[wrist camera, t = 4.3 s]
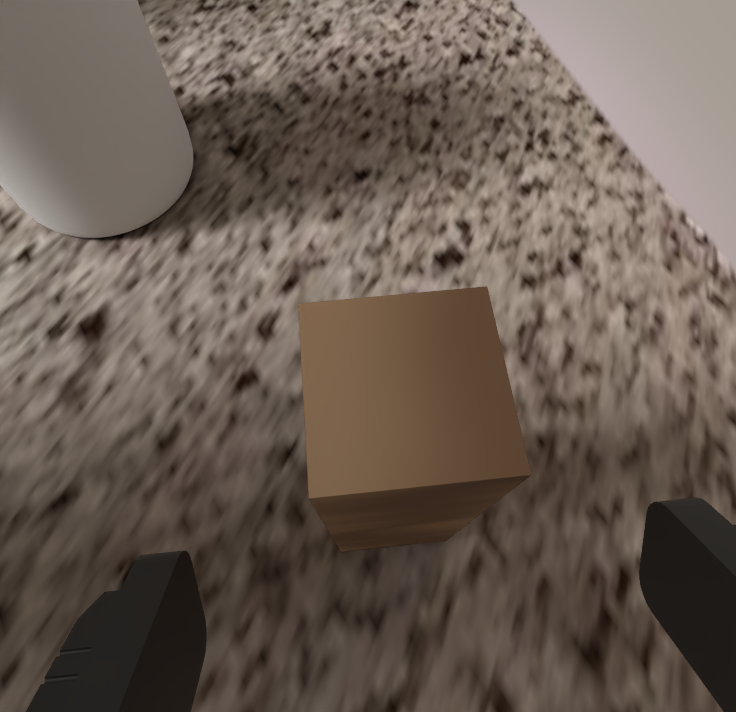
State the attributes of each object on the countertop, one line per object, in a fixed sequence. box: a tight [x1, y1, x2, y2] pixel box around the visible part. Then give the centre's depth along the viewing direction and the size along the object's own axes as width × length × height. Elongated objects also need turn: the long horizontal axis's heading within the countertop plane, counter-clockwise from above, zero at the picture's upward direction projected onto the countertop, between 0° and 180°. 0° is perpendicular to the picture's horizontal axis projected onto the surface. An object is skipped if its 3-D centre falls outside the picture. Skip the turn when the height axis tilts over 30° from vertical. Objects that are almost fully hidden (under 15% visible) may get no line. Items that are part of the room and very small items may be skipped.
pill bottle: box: [0, 0, 193, 238], centre depth 17 cm, size 8×8×15 cm
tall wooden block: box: [298, 287, 531, 552], centre depth 13 cm, size 4×4×10 cm
